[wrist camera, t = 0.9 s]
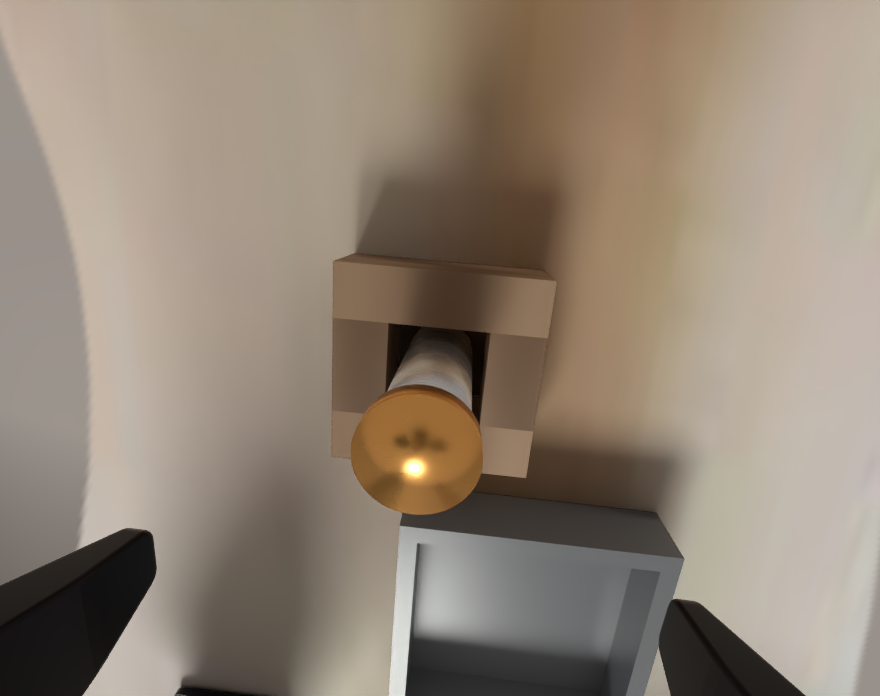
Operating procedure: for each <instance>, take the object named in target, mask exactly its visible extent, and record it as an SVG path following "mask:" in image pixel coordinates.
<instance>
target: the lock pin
mask: <svg viewBox="0 0 880 696" xmlns="http://www.w3.org/2000/svg"><path fill="white" fill-rule="evenodd" d="M350 453H351V462H352V467H353V470H354V473H355V475H356V477H357V479H358V481H359V482H360V484H361V485H362V487H363V488H364V489H365V490H366V491H367V493H368V494H369V495H371V496H372V497H373V498H374V499H375V500H377V501H378V502H379V503H381V504H383V505H385V506H386V507H388V508H391V509H393V510H396V511H399V512H402V513H407V514H415V515H427V514H434V513H439V512H442V511H445V510H447V509H450V508H452V507H454V506H455V505H457V504H459V503H460V502H461V501H463V500H464V499H465V498H466V497H467V496H468V495H469V494H470V493H471V492H472V490H473V489H474V488H475V486H476V484H477V482H478V481H479V478H480V475H481V472H482V467H483V441H482V433H481V429H480V426H479V424H478V421H477V419H476V417H475V416H474V414H473V412H472V346H471V343H470V340H469V338H468V336H467V335H466V334H465V333H464V331H463V330H455V329H445V328H434V327H422V328H421V329H420V330H419V331H417V333H416V334H415V335H414V337H413V339H412V341H411V343H410V345H409V347H408V349H407V351H406V353H405V355H404V357H403V360H402V362H401V364H400V366H399V368H398V370H397V372H396V374H395V376H394V378H393V380H392V382H391V384H390V387H389V389H388V391H387V392H385V393H384V394H382V395H381V396H379V397H378V398H377V399H376V400H374V401H373V402H372V403H371V405H370V406H369V407H368V408H367V410H366V412H365V413H364V415H363V417H362V419H361V420H360V422H359V424H358V426H357V428H356V430H355V432H354V435H353V438H352V442H351V450H350Z"/></svg>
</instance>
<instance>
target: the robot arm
mask: <svg viewBox="0 0 880 696" xmlns="http://www.w3.org/2000/svg"><path fill="white" fill-rule="evenodd" d="M156 569H157V566H156V557H155V549H154V541H153V535H152V534H151V532H149V531H147V530H141V529H133V528H126V529H122V530H120V531H118V532H116V533H114V534H111V535H109V536H107V537H105V538H103V539H101V540H98V541H96V542H94V543H92V544H90V545H88V546H85V547H83V548H81V549H79V550H77V551H74V552H72V553H70V554H68V555H66V556H64V557H61V558H59V559H57V560H55V561H53V562H51V563H48V564H46V565H44V566H42V567H40V568H38V569H35V570H33V571H31V572H29V573H27V574H25V575H22V576H20V577H18V578H16V579H14V580H12V581H9V582H7V583H5V584H3V585H1V586H0V696H82V695H83V694H84V693H85V691H86V690H87V688H88V687H89V685H90V684H91V682H92V681H93V680H94V678H95V677H96V675H97V674H98V672H99V670H100V669H101V667H102V666H103V664H104V663H105V661H106V659H107V658H108V656H109V654H110V653H111V651H112V649H113V648H114V646H115V644H116V643H117V641H118V639H119V638H120V636H121V634H122V633H123V631H124V629H125V628H126V626H127V624H128V623H129V621H130V619H131V618H132V616H133V614H134V613H135V611H136V609H137V608H138V606H139V604H140V603H141V601H142V599H143V598H144V596H145V594H146V593H147V591H148V589H149V588H150V586H151V584H152V582H153V580H154V578H155V575H156ZM659 650H660V655H661V659H662V662H663V666H664V670H665V674H666V678H667V682H668V686H669V690H670V694H671V696H805V695H804V694H803V693H802V692H801V691H800V690H798V689H797V688H796V687H795V686H794V685H793V684H792V683H790V682H789V681H788V680H787V679H786V678H785V677H784V676H782V675H781V674H780V673H779V672H778V671H777V670H776V669H774V668H773V667H772V666H771V665H770V664H769V663H768V662H767V661H765V660H764V659H763V658H762V657H761V656H760V655H759V654H757V653H756V652H755V651H754V650H753V649H752V648H751V647H749V646H748V645H747V644H746V643H745V642H744V641H743V640H741V639H740V638H739V637H738V636H737V635H736V634H735V633H733V632H732V631H731V630H730V629H729V628H728V627H727V626H725V625H724V624H723V623H722V622H721V621H720V620H719V619H717V618H716V617H715V616H714V615H713V614H712V613H711V612H709V611H708V610H707V609H706V608H705V607H704V606H702V605H701V604H700V603H698V602H695V601H689V600H681V599H673V600H671V602H670V603H669V605H668V608H667V611H666V614H665V617H664V620H663V624H662V627H661V630H660V634H659ZM175 696H243V695H236V694H229V693H221V692H214V691H206V690H199V689H192V688H179V689H178V691H177V692H176V694H175Z"/></svg>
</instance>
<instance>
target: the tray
mask: <svg viewBox="0 0 880 696" xmlns="http://www.w3.org/2000/svg"><path fill="white" fill-rule="evenodd" d="M683 562H684V557H683V556H682V554H681V553H680V551H679V549H678V548H677V546H676V544H675V543H674V541H673V539H672V538H671V536H670V534H669V533H668V531H667V529H666V528H665V526H664V525H663V523H662V521H661V520H660V518H659V516H658V515H657V513H654V512H645V511H636V510H627V509H618V508H610V507H601V506H592V505H583V504H574V503H565V502H556V501H547V500H538V499H529V498H520V497H511V496H502V495H493V494H484V493H476V492H471V493H470V494H469V495H468V496H467V497H466V498H465V499H464V500H463V501H461V502H460V503H459V504H457V505H455V506H454V507H452V508H450V509H447V510H445V511H442V512H439V513H434V514H427V515H415V514H407V513H403V514H402V518H401V522H400V529H399V545H398V560H397V576H396V592H395V607H394V623H393V639H392V654H391V670H390V686H389V696H644V693H645V690H646V686H647V683H648V680H649V676H650V673H651V669H652V666H653V663H654V659H655V656H656V653H657V649H658V646H659V634H660V630H661V627H662V624H663V620H664V617H665V614H666V611H667V608H668V605H669V603H670V602H671V600H672V599H673V595H674V592H675V589H676V585H677V582H678V579H679V575H680V572H681V568H682V565H683Z"/></svg>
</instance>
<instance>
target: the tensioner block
mask: <svg viewBox="0 0 880 696" xmlns="http://www.w3.org/2000/svg"><path fill="white" fill-rule="evenodd" d="M556 285H557V281H556V280H555V279H554V278H553V277H551V276H550V275H549V274H548V273H547V272H545V271H544V270H533V269H522V268H511V267H499V266H488V265H477V264H466V263H454V262H443V261H432V260H421V259H410V258H398V257H387V256H376V255H365V254H352V255H349V256H346V257H343V258H341V259H338V260H335V261H333V356H332V457H338V458H347V459H351V453H350V450H351V442H352V438H353V435H354V432H355V430H356V428H357V426H358V424H359V422H360V420H361V419H362V417H363V415H364V413H365V412H366V410H367V408H368V407H369V406H370V405H371V403H372V402H373V401H374V400H376V399H377V398H378V397H379V396H381V395H382V394H384V393H385V392H387V391H388V389H389V387H390V384H391V382H392V380H393V378H394V376H395V374H396V372H397V369H398V351H399V333H400V324H403V325H413V326H424V327H434V328H445V329H455V330H465V331H476V332H486V338H485V347H484V355H483V364H482V373H481V381H480V390H479V396H474V395H472V412H473V414H474V416H475V417H476V419H477V421H478V424H479V426H480V429H481V433H482V441H483V467H482V472H481V473H484V474H493V475H502V476H511V477H520V478H526V475H527V469H528V462H529V456H530V450H531V443H532V437H533V431H534V424H535V418H536V412H537V405H538V399H539V393H540V386H541V380H542V374H543V367H544V361H545V355H546V348H547V342H548V336H549V329H550V323H551V317H552V310H553V304H554V298H555V291H556Z"/></svg>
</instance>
